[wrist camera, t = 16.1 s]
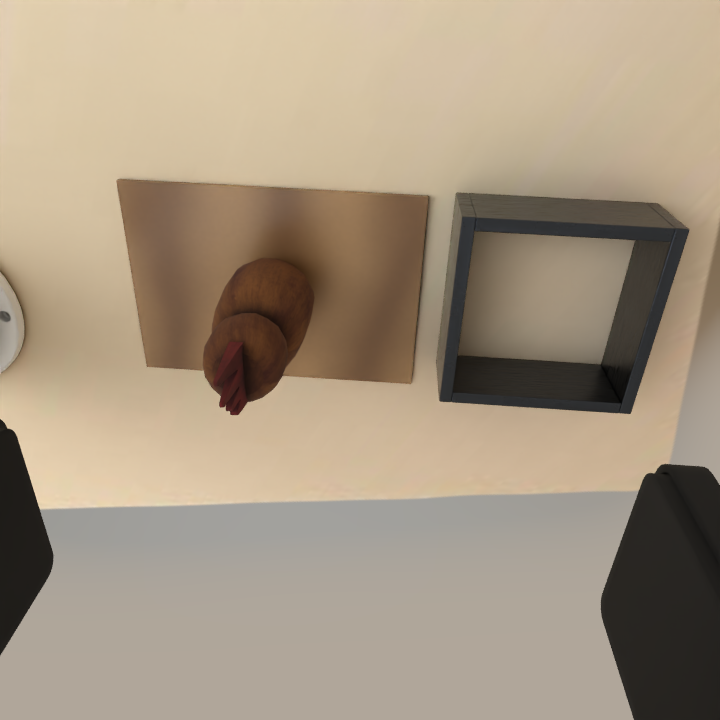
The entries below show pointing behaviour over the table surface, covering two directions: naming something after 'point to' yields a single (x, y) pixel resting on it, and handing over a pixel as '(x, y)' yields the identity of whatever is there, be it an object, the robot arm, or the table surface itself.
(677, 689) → the robot arm
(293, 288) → the wooden figurine
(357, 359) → the brown wooden board
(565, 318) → the table surface
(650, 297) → the box
